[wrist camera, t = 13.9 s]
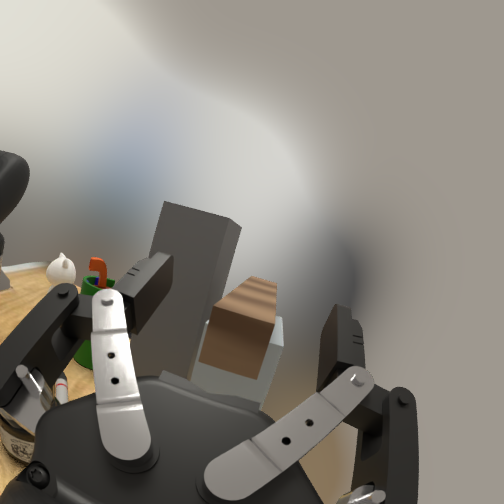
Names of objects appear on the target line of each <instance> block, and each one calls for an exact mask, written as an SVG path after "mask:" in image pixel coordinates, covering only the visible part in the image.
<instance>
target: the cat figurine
mask: <svg viewBox="0 0 504 504" xmlns="http://www.w3.org/2000/svg"><path fill="white" fill-rule="evenodd" d="M46 276H47V279H48V281H49V282H50V283H51V284H52V286H51V287H50V288H49V290H48V293H49V292H50V291H51V290H52V289H53V288H54V287H55V286H56V285H58V284H61V283H71V284H73V283H74V281H75V277H76V270H75V266H74V264H73V262H72V261H71V260H69V259H67V258H66V257H65V255H64V254H63V253H60V256H59V258H58V259H56V260H54V261H53V262H52V263H51V264H50V265H49V267H48V268H47V271H46ZM48 293H47V294H48Z"/></svg>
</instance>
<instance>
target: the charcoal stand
mask: <svg viewBox="0 0 504 504" xmlns="http://www.w3.org/2000/svg"><path fill="white" fill-rule="evenodd" d="M241 228H242V227H240V226H239V225H238V224H236V223H235V222H234V221H233V220H231V219H230V218H227V217H223V216H219V215H216V214H212V213H208V212H205V211H201V210H197V209H193V208H189V207H185V206H181V205H178V204H173V203H170V202H166V201H164V203H163V207H162V210H161V214H160V217H159V220H158V224H157V227H156V231H155V235H154V238H153V242H152V246H151V250H150V253H149V258H150V259H151V258H152V257H153V256H154V255H155V254H156V253H157V252H158V251H161V252H164V253H167V254H170V255H173V257H174V266H173V282H172V286H171V289H170V291H169V293H168V294H167V295H166V297H165V298H164V299H163V301H162V302H161V304H160V305H159V306H158V308H157V309H156V310H155V312H154V313H153V314H152V316H151V317H150V319H149V320H148V321H147V323H146V324H145V325H144V327H143V328H142V330H141V331H140V332H139V334H138V335H135V334H133V333H132V336H131V342H130V351H131V357H132V362H133V367H134V372H135V377H139V376H146V375H153V376H160V375H161V373H162V371H163V370H164V371H167V372H169V373H172V374H174V375H177V376H180V377H182V378H185V379H187V380H188V381H190V380H191V376H192V372H193V368H194V364H195V360H196V357H197V353H198V349H199V345H200V341H201V337H202V334H203V330H204V326H205V323H206V322H207V321H208V320H209V319H210V315H211V312H212V308H213V305H214V304H216V303H217V302H218V301H220V300H221V299H222V295H223V291H224V288H225V284H226V281H227V277H228V274H229V270H230V267H231V263H232V259H233V256H234V253H235V249H236V245H237V242H238V238H239V235H240V231H241Z"/></svg>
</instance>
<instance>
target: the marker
mask: <svg viewBox="0 0 504 504" xmlns="http://www.w3.org/2000/svg"><path fill="white" fill-rule="evenodd" d="M56 398H57V399H58V400H59V402H60V403H61V404H63V403H66V402H68V388H67V378H66V376H65V373H64V372H62V373H61V375H60V376H59V378H58V379H57V381H56Z"/></svg>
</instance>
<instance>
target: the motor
mask: <svg viewBox="0 0 504 504" xmlns="http://www.w3.org/2000/svg"><path fill="white" fill-rule="evenodd" d="M89 270H90V271H98V272H99V276H85V277H84V278H83V282H82V287H81V293H80V294H83V295H90V296H94V295H95V294H96V293H97V292H98V291H100V290H103V289H111V288H112V287H113V286H114V284H115V280H112V279H108V278H107V268H106V264H105V263H104V261H103V260H102V259H101V258H95V257H92V258H91V260H90V265H89ZM73 357H74V359H75V360H76V361H77V362H78V363H79V364H81V365H82V366H84V367H86V368H89V369H92V370H93V362H92V348H91V341H89V340H85V341H84V342H83V344H82V345H81V346H80V348H79V349H78V351H77V352H76V353H75V355H74V356H73Z"/></svg>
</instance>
